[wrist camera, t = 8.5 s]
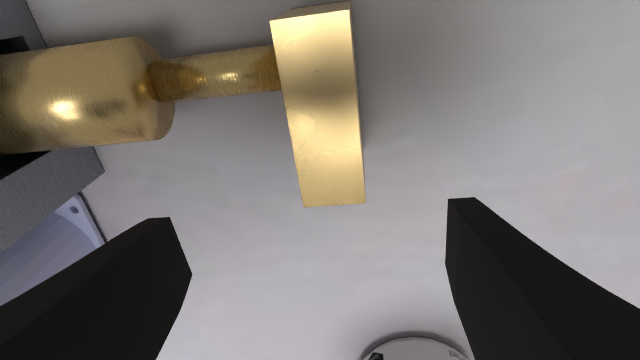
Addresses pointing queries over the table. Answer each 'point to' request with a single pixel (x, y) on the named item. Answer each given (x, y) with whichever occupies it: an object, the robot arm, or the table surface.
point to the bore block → (35, 167)
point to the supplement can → (414, 350)
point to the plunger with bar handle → (197, 95)
